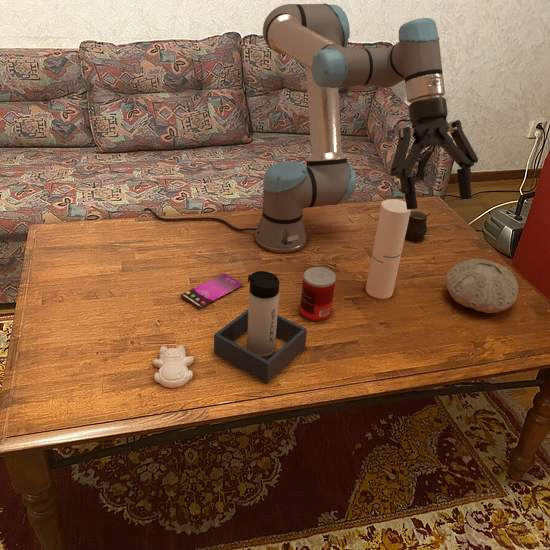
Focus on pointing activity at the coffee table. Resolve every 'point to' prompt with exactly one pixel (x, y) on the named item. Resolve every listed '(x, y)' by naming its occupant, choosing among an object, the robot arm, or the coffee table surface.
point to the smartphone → (211, 290)
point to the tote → (251, 361)
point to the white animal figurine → (173, 367)
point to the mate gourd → (416, 225)
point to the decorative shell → (482, 285)
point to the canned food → (317, 293)
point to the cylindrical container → (387, 248)
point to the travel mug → (262, 313)
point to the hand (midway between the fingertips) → (439, 204)
